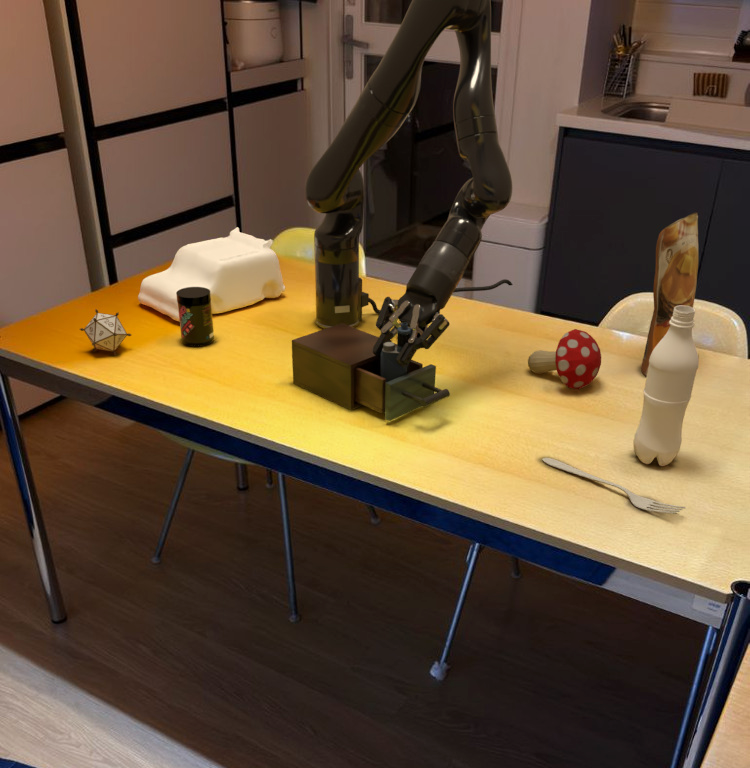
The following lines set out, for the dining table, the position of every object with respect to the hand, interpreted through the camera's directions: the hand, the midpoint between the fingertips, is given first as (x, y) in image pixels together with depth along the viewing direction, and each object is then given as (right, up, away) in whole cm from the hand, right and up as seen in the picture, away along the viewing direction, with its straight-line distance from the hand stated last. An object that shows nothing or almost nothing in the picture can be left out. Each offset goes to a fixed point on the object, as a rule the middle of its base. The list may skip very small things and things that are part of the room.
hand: (388, 359), depth 150 cm
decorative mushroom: (+33, -1, +17) cm, 38 cm away
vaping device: (+1, -5, +4) cm, 6 cm away
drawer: (+1, -7, +6) cm, 9 cm away
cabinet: (-8, -3, +13) cm, 16 cm away
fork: (+33, -22, -16) cm, 43 cm away
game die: (-56, +6, +26) cm, 62 cm away
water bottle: (+43, -17, -8) cm, 47 cm away
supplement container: (-39, +9, +31) cm, 51 cm away
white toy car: (-39, +22, +52) cm, 69 cm away
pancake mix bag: (+55, +3, +25) cm, 60 cm away
